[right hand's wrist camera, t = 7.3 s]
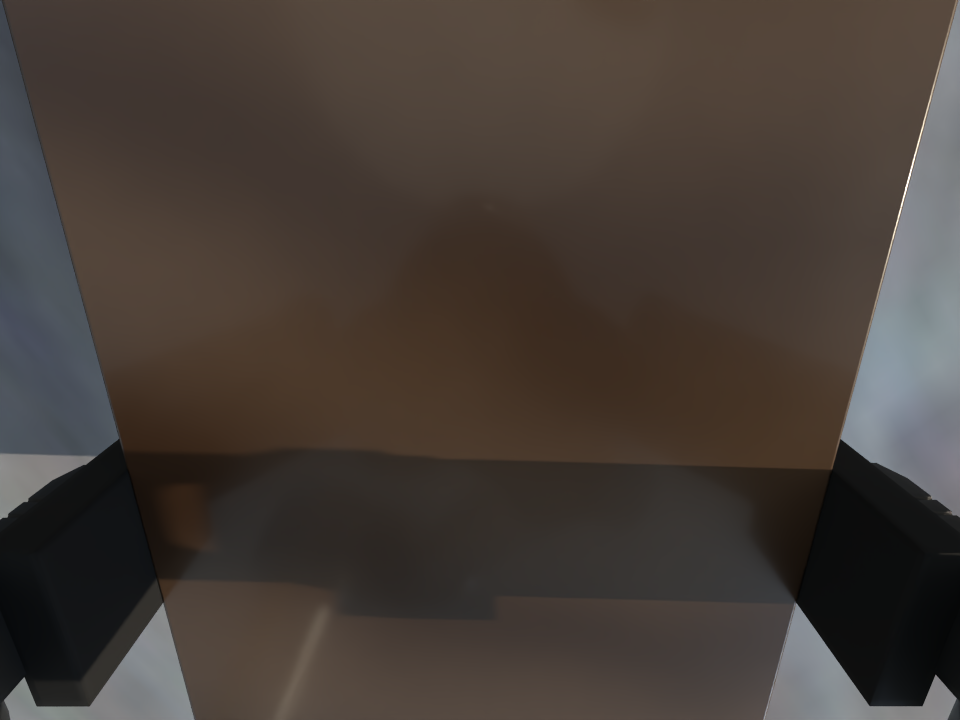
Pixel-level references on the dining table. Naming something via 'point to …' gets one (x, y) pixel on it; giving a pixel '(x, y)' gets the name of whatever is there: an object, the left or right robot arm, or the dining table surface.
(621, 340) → the cabinet
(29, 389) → the dining table surface
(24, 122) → the dining table surface
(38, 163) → the dining table surface
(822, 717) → the dining table surface
